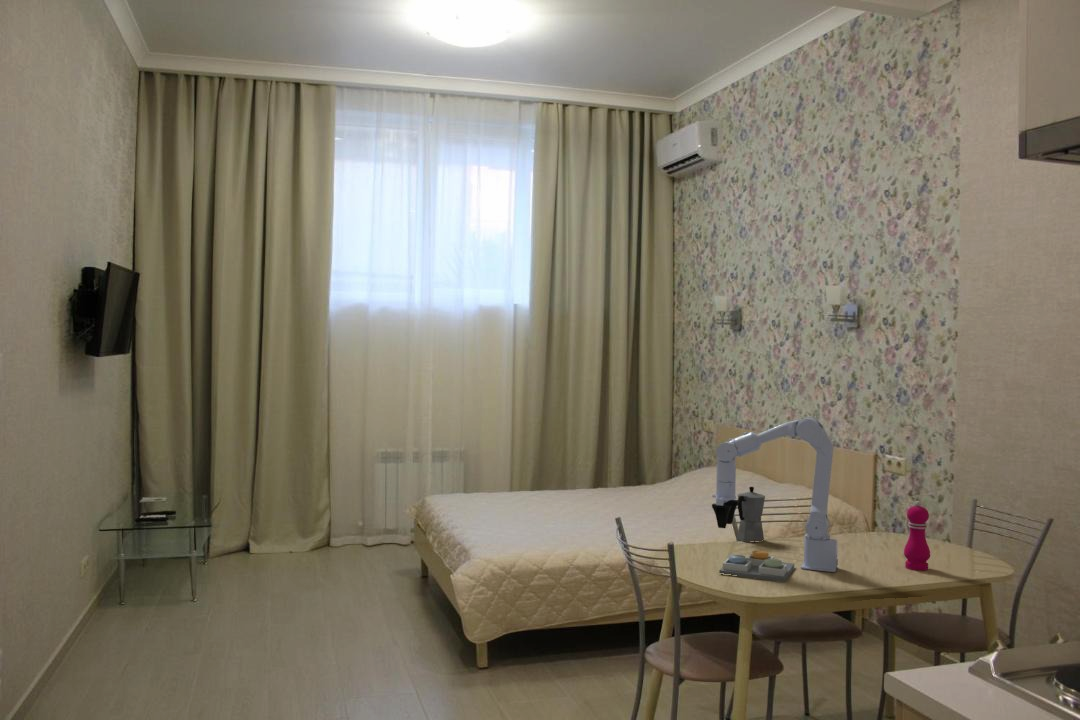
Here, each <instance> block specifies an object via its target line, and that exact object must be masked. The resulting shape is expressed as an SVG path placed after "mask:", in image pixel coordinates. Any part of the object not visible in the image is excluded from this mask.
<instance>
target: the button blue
mask: <svg viewBox="0 0 1080 720" xmlns="http://www.w3.org/2000/svg"><path fill="white" fill-rule="evenodd" d="M728 558H729V563H732V564H745V562H746V558H747V557H746V556H745V555H742V554H729V556H728Z"/></svg>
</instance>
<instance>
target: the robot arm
mask: <svg viewBox="0 0 1080 720" xmlns="http://www.w3.org/2000/svg"><path fill="white" fill-rule="evenodd" d="M784 436H787V437H792V438H795V437H797V436H798V437H799V438H800V439H801V440H803V441H804V442H806V443H807V444H809V445H810V446H811V447H812V448H813V449H814V451H816V457H815V467H814V474H813V475H814V476H813V483H812V494H811V496H812V497H811V504H810V509H809V510H810V511H809V516H808V517H807V521H806V523H805V525H804V529H805V534H804V538H803V539H804V540H803V541H804V543H803V547H804V548H803V550H804V551H803V563H802V564H801V566H800V568H801V570H802V569H804V570H811V571H812V570H813V571H822V572H829V573H835V572H836V570H837V568H838V565H839V558H838V550H839V549H838V540H837V539H832V538H831V535H829V533H828V530H829V528H830V519H829V518H828V506H829V495H830V487H831V485H830V484H831V477H832V475H831V474H832V468H833V467H832V465H833V456H834V449H835V448H834V443H833V441H832V440H831V438H830V437H829V436H830V435H828V433H827V430H826V429H825V427H824V425H823V424H822V423H821V422H820V421H818V420H817V419H816V418H814V417H812V416H809V417H808V416H807V417H804V418H803V419H796V420H791V421H787V422H784V423H782V424H779V425H777V426H775V427H773V428H769V429H767V430H764V431H763V432H760V433H755V432H753V431H750V432H748V431H745V432H743V434H742V435H740V436H736V437H735V438H732V437H731V438H728V441H724V442H722V443H719V445H717V447H716V448H715V456H716V458H717V461H716V490H715V491H716V493H715V494H712V495H711V497H712V498H715V501H716V502H715V503H711V508H712V509H713V512H714V514H715V519H716V523H717V528H719V529H726V528H727V525H732V524H733V522H734V521H733V520H734V516H735V512H736V509H737V508H738V506H737V505H738V503H739V501H737V500H738V499H737V496H736V485H737V484H736V477H737V476H736V475H737V474H736V473H737V472H736V471H737V469H736V468H737V466H736V458H737V457H738V458H739V457H743V456H746V455H749V454H750V453H754V452H756V451H759V450H760V449H761V446H762V444H765V443H768V442H772V441H773V440H776V439H779V438H782V437H784Z"/></svg>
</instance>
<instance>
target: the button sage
mask: <svg viewBox="0 0 1080 720" xmlns="http://www.w3.org/2000/svg"><path fill="white" fill-rule="evenodd" d="M782 562H783V561H782V560H781V559H777V558H774V559H765V567H767V568H776V569H778V568H781V567H782Z"/></svg>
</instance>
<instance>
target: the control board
mask: <svg viewBox="0 0 1080 720" xmlns="http://www.w3.org/2000/svg"><path fill="white" fill-rule="evenodd" d="M768 559H775V556H774V555H773V556H772V555H769V556H768ZM793 568H794V569H795V563H792V562H785V561H782V567H781V568H778V569H776V568H767V567H765V560H760V559H753V558H752V553H750V554H749V555H748V556H747V557H746V562H745V564H732V563H729V557H727V558H726V559H725V560H724V561H723V562H722V567H721V568H720V569H719V573H724V574H731V575H737V576H743V577H742V578H744V577H748V578H747V579H752V578H756V579H755V580H762V581H771V582H778V583H786V581H787V580H788V578H789V577H790V576H791V575H790V574H791V573H792V571H794V569H793ZM719 573H718V574H719Z"/></svg>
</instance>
